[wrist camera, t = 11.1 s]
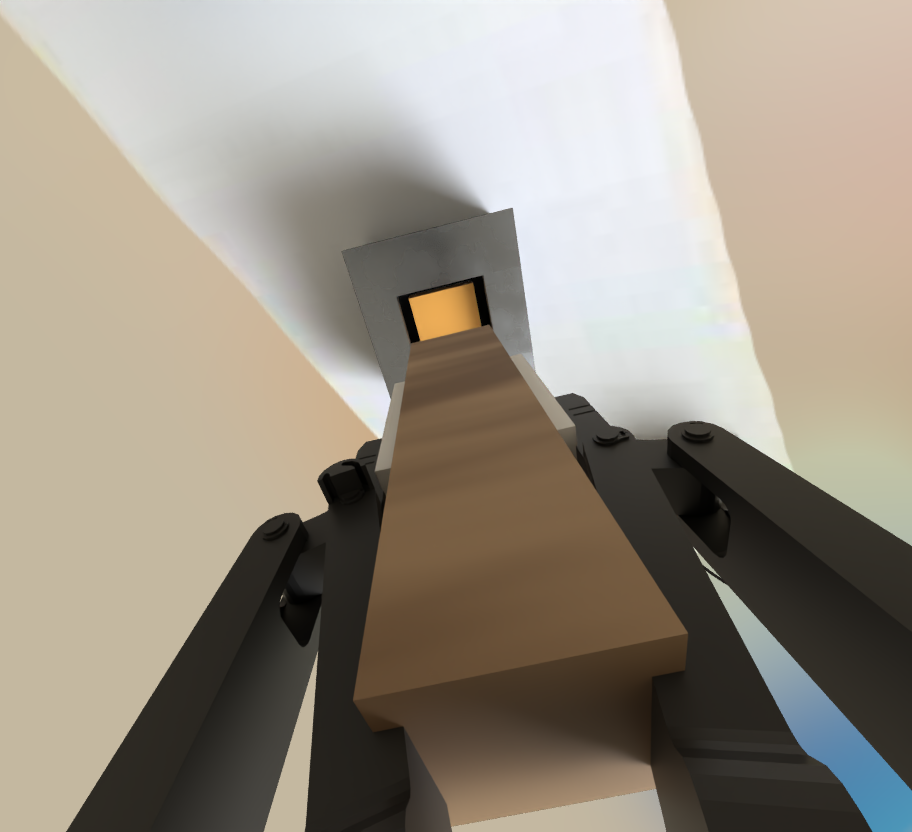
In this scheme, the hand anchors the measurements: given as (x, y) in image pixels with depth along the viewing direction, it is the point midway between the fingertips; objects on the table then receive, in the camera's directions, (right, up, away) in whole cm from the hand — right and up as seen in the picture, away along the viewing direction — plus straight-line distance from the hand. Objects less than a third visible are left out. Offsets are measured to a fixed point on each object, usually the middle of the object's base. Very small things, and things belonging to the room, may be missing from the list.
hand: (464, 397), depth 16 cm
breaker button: (-1, +10, +20) cm, 22 cm away
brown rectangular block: (0, +2, +3) cm, 4 cm away
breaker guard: (-1, +10, +21) cm, 24 cm away
